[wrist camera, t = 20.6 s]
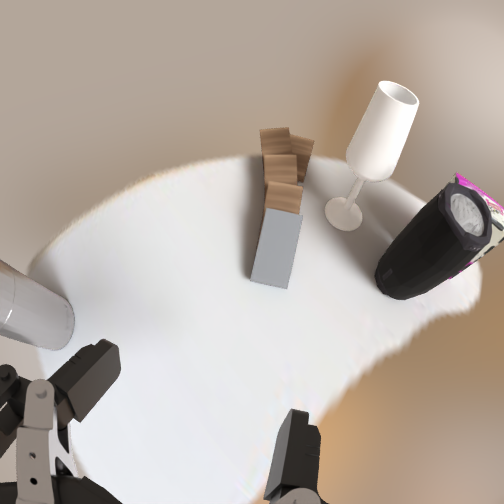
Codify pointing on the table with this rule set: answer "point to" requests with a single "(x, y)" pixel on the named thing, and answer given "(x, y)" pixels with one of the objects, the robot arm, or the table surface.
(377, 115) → the champagne flute
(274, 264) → the grey domino
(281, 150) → the walnut domino
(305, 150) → the walnut domino
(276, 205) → the walnut domino
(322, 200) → the table surface
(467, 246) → the portable speaker
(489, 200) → the candy bar box
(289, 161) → the walnut domino
